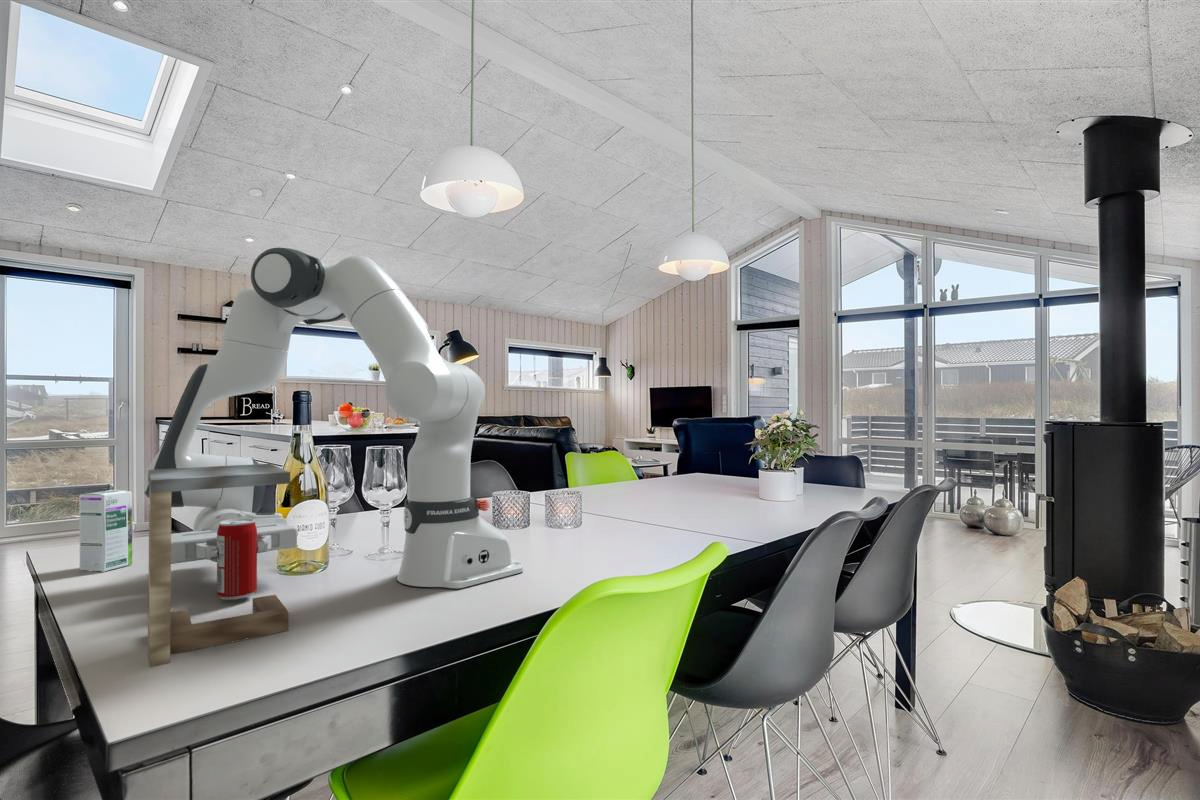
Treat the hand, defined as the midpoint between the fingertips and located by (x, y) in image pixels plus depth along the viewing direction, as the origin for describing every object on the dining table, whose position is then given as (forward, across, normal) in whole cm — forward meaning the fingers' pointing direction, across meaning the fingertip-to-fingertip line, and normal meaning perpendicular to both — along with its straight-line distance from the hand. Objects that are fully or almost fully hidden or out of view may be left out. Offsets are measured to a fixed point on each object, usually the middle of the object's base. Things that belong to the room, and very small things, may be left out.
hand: (238, 550), depth 97 cm
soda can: (-1, 0, +7) cm, 7 cm away
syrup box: (-38, -17, +8) cm, 43 cm away
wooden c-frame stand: (+14, -4, +8) cm, 17 cm away
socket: (+14, -3, +8) cm, 16 cm away
